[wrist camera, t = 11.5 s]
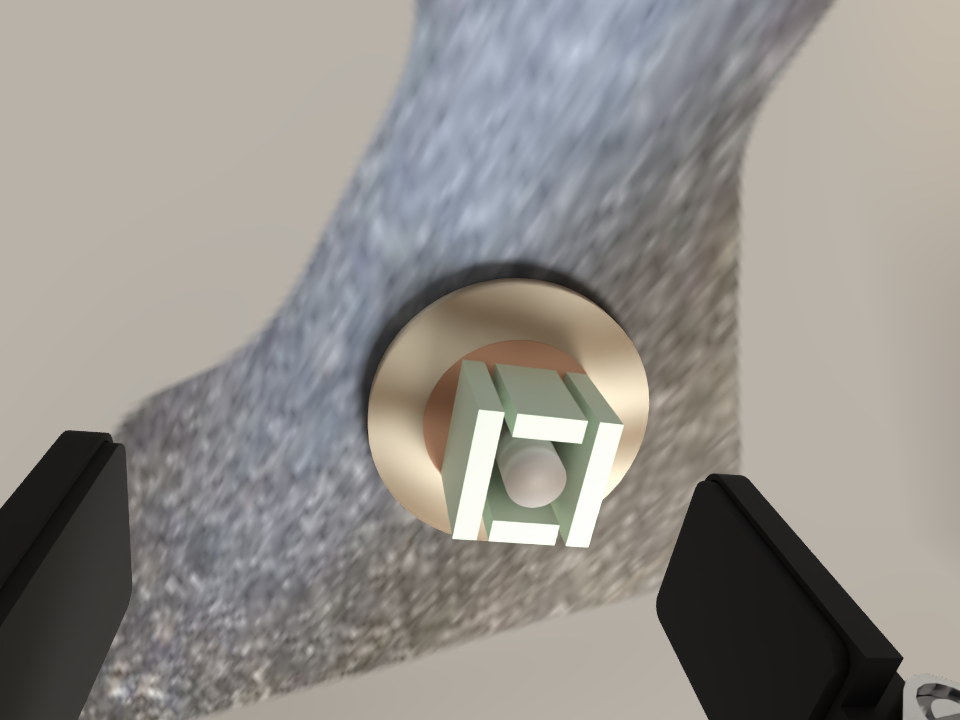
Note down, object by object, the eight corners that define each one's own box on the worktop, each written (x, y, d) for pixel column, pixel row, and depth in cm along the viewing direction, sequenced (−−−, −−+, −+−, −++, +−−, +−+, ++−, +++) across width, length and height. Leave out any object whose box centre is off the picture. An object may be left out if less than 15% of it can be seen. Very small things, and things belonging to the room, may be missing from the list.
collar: (462, 359, 36) (478, 409, 30) (586, 373, 37) (623, 424, 31) (440, 472, 38) (452, 538, 32) (558, 482, 39) (588, 547, 34)
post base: (388, 257, 35) (392, 300, 28) (672, 299, 38) (738, 347, 31) (352, 516, 40) (347, 606, 33) (601, 534, 43) (644, 618, 37)
